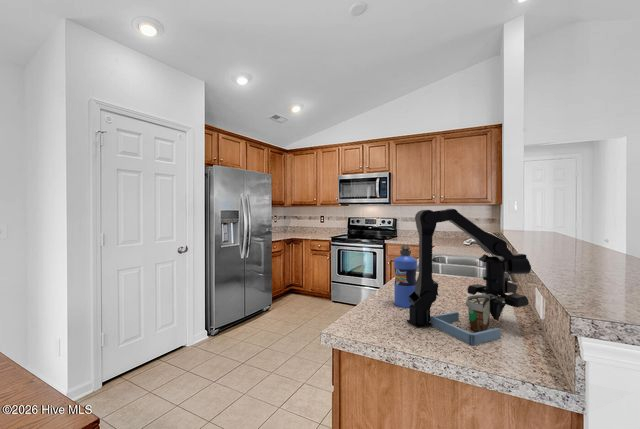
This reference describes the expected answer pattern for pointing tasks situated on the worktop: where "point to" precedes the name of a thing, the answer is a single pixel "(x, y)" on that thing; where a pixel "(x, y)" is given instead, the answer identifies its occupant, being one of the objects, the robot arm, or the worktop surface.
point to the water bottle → (404, 277)
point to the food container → (479, 312)
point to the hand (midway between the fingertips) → (496, 319)
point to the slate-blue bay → (470, 338)
